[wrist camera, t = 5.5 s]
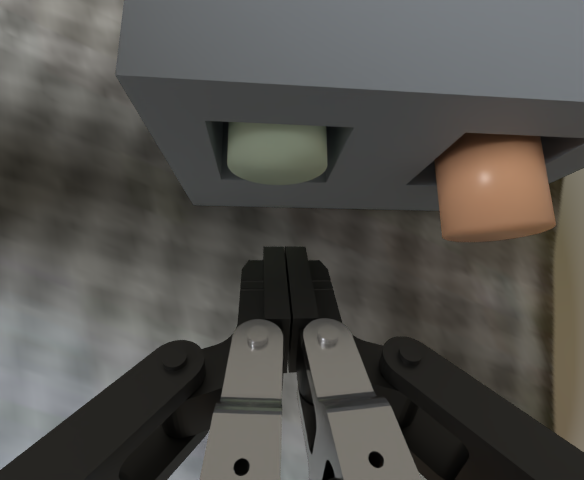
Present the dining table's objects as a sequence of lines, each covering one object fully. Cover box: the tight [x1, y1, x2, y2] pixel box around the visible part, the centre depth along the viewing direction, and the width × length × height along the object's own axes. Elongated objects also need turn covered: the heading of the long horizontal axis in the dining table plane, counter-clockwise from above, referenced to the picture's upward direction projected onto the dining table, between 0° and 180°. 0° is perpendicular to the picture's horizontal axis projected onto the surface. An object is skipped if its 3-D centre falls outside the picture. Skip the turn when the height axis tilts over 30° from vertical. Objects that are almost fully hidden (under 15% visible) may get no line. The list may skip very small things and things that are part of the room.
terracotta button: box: [434, 133, 556, 242], centre depth 14 cm, size 4×4×4 cm
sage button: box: [227, 122, 327, 185], centre depth 14 cm, size 4×4×4 cm
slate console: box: [115, 0, 584, 211], centre depth 16 cm, size 8×18×11 cm, turn 90°
